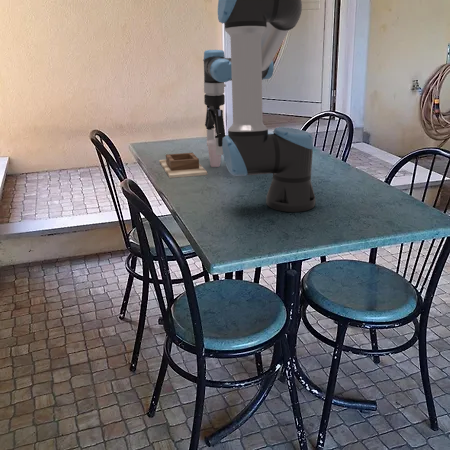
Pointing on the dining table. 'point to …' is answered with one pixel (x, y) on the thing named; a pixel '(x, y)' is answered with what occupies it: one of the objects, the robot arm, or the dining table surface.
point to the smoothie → (213, 152)
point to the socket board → (182, 165)
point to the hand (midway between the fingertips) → (215, 150)
